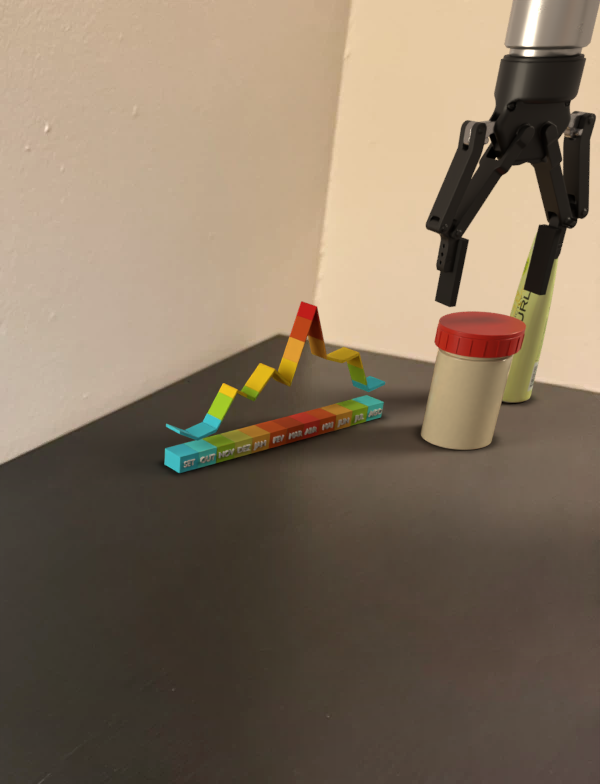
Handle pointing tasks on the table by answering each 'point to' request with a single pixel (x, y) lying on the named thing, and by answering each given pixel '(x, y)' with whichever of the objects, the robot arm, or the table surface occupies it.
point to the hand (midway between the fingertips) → (490, 297)
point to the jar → (464, 400)
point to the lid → (480, 334)
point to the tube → (528, 335)
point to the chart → (282, 428)
